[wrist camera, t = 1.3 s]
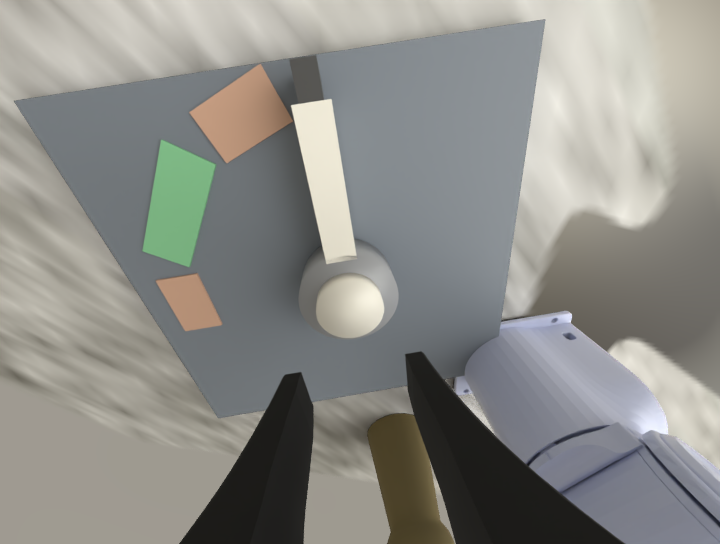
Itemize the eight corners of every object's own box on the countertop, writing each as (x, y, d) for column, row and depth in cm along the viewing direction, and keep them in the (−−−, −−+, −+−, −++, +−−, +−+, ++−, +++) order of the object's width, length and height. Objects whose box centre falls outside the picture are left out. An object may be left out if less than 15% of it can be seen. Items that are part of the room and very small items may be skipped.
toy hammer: (393, 307, 18) (405, 342, 15) (313, 320, 18) (309, 358, 15) (369, 61, 12) (382, 36, 9) (246, 80, 12) (215, 62, 9)
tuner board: (528, 28, 13) (547, 17, 12) (486, 360, 24) (494, 371, 23) (40, 103, 13) (10, 100, 11) (223, 405, 24) (217, 420, 22)
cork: (361, 447, 29) (376, 608, 19) (375, 411, 26) (401, 577, 16) (413, 449, 30) (452, 602, 20) (432, 415, 27) (487, 573, 17)
